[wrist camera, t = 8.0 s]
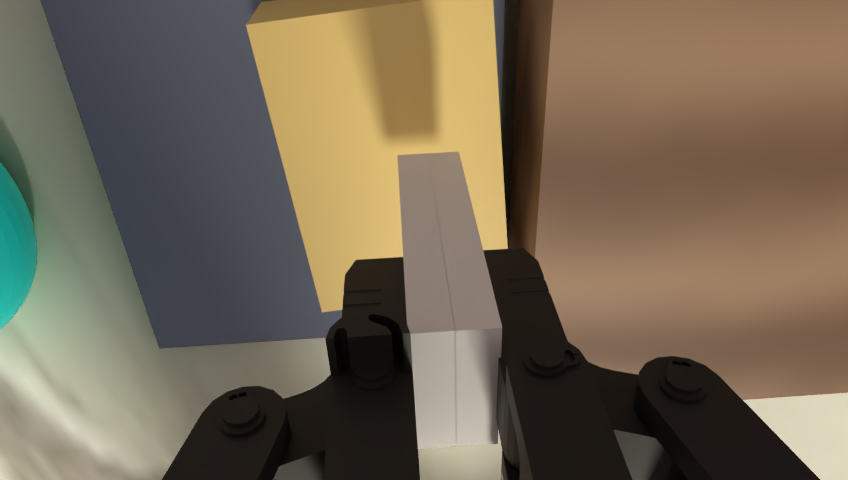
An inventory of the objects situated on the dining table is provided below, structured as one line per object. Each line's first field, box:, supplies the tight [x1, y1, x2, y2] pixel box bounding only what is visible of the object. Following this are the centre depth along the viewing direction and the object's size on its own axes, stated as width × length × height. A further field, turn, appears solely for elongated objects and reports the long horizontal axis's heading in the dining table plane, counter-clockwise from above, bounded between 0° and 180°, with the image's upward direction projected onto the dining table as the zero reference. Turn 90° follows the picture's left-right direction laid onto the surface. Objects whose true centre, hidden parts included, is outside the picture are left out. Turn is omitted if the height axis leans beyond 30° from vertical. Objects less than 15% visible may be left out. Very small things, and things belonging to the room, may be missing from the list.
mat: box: [41, 0, 505, 348], centre depth 20 cm, size 16×12×1 cm
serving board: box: [508, 0, 848, 400], centre depth 19 cm, size 18×14×4 cm
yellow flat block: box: [246, 0, 508, 312], centre depth 19 cm, size 9×6×2 cm, turn 7°
